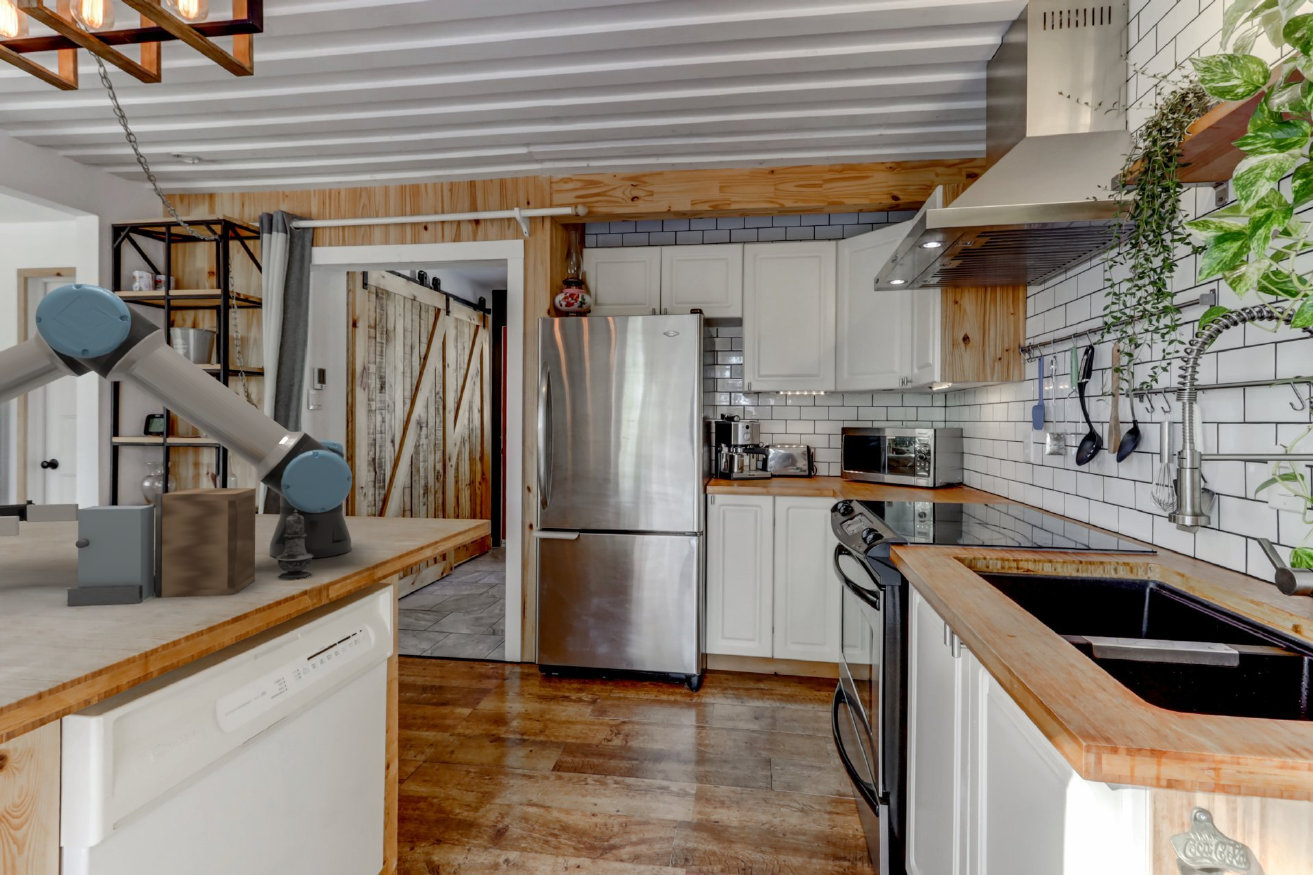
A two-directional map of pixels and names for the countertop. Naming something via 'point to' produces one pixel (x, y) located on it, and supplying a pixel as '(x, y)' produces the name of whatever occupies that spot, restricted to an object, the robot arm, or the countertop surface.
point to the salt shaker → (294, 550)
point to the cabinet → (204, 541)
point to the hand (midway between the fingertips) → (49, 518)
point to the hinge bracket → (105, 595)
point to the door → (116, 547)
